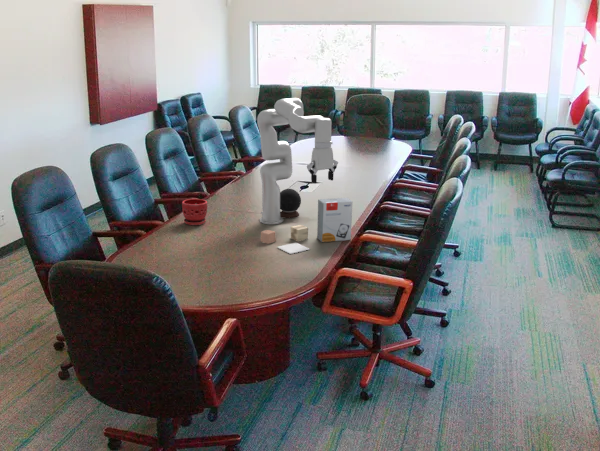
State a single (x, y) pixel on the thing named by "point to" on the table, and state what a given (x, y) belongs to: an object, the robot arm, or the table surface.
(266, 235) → the terracotta block
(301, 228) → the maple block
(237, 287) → the table surface
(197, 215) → the plant pot
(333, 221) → the hard drive box
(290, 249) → the felt coaster
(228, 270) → the table surface
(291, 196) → the black ball on stand
